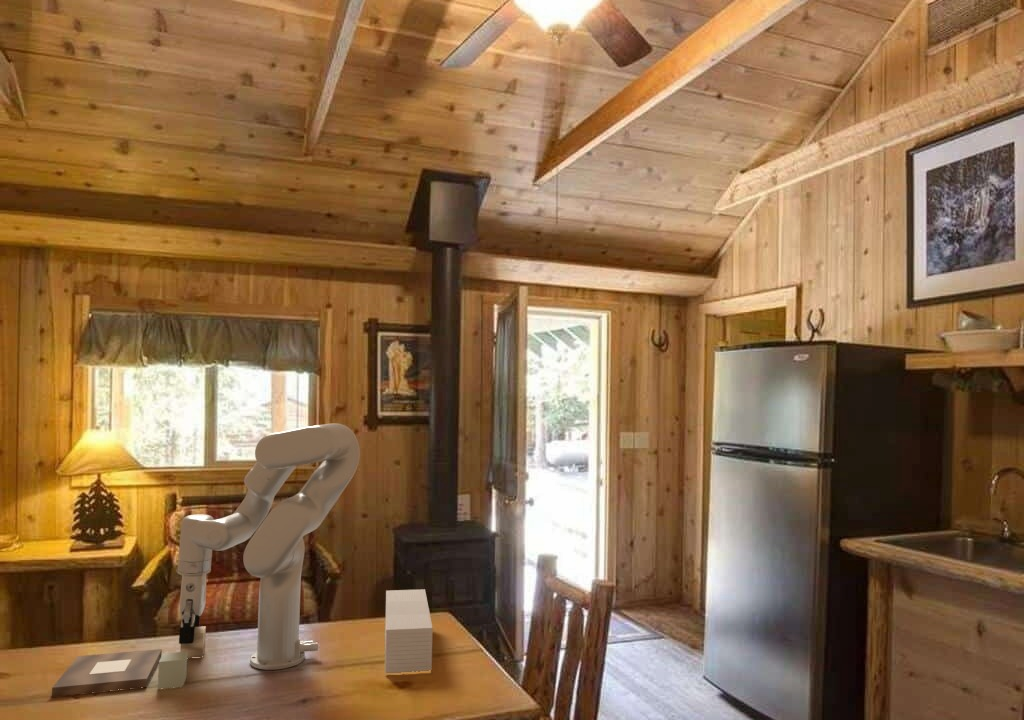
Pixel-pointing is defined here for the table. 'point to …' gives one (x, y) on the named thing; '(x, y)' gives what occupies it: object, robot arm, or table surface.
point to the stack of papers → (407, 632)
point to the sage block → (172, 670)
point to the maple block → (196, 643)
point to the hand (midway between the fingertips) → (189, 635)
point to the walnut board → (108, 672)
